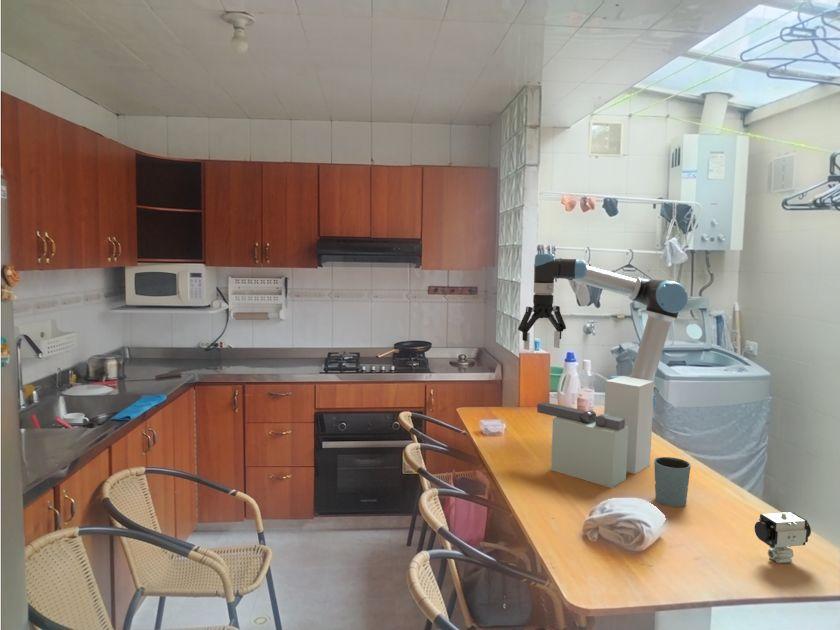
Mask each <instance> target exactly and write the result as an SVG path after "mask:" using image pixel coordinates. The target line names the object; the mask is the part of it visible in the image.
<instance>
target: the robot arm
mask: <svg viewBox="0 0 840 630" xmlns="http://www.w3.org/2000/svg"><path fill="white" fill-rule="evenodd" d="M533 267H534V271H533V273H534V274H533V275H534V276H533V278H534V279H533V293H534V294H533V299H532V301H533V306H526V307H525V312H524V314H523V317H522V320H521V321H520V322H519V325H518V327H517V331H519V332H522V336H521V337H522V339H521V340H522V341H523V350H527V351H529V350H530V337H531V336H530V332H529V331H530V329H531V328H533V326H534V325H535V323H536V322H537V321H538V320H539V319H548V320H549V321H550V323H551V325H552V327H553V328H554V329H555V330H554V332H553V333H554V334H553V348H556V349H560V341H561V339H562V332H563V331H564V330H567V325H566V323H565V321H564V319H563V318H564V317H563V316H562V313H561V307H560V306H558V305H554V295H553V294H554V290H555V289H554V283H555V279H556V280H557V279H562V280H563V279H565V280H568V281H573V282H576V283H580V284H582V285H587V286H591V287H593V288H597V289H601V290H605V291H607V292H611V293H614V294H619V295H622V296H626V297H628V298H629V300H631V301H635V302H638V303H640V304H642V305H645V306H646V308H645V313H646V314H647V316H648V317H647V320H646V323H645V327H644V330H643V334H642V336H641V338H640V339H641V340H640V343H639V347H638V350H637V354H636V357H635V359H634V360H635V361H634V364H633V366H632V369H631V373H630V374H629V375H624V376H625V377H631V378H637V379H644V380H650V381H654V393H655V391H656V388H657V385H656V384H655V377H656V375H657V371H658V367H659V363H660V362H661V361H660V360H661V357H662V353H663V350H664V347H665V344H666V341H667V338H668V334H669V330H670V327H671V323H672V322H673V321H677V319H678V316H679V313H680V312H681V311H682V310H683V309H685V307H686V305H687V304H688V299H689V296H688V292H687V290H686V287H684V286H683V285H682V284H681V283H678V282H676V281H674V280H666V279H665V280H664V279H653V278H652V279H649V278H643V277H639V276H636V277H630V276H626V275H622V274H620V273H619V274H618V273H616V272H612V271H608V270H604V269H600V268H596V267H595V266H589V265H587V262H586V261H585V260H584V259H582V258H580V259H579V258H561V257H560V258H556V256H555V254H553V253H537V254H536V255H535V257H534V264H533ZM619 376H620V375H612V376H609V378H608V380H610V379H613V378H616V377H619ZM656 406H657V398H656V396H655V395H654V397H653V411H654V410H655V409H656Z"/></svg>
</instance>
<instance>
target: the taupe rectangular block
mask: <svg viewBox="0 0 840 630" xmlns="http://www.w3.org/2000/svg"><path fill="white" fill-rule="evenodd" d="M618 376H619V377H616V378H613V379H610V380H609V379H607V380H605V382H604V383H605V386H604V387H605V388H604V408H603V409H604V410H603V414H609V415H611V416H613V417H618V418H623V419H625V426H629V427H628V447H627V468H626V473H629V474H634V475H636V474H637V473H639V472H642V470H644V469H646V468H647V467H649V466H651V450H652V449H651V448H652V430H653V413H654V410H653V397H654V396H655V392H654V383H655V380H654V381H650V380H644V379H637V378H631V377H625V376H626V375H618Z"/></svg>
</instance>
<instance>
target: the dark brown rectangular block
mask: <svg viewBox="0 0 840 630" xmlns="http://www.w3.org/2000/svg"><path fill="white" fill-rule="evenodd" d="M536 407H537V408H536V409H537V411H536V412H537V413H538V414H544V415H548V416H552V417H555V418H556V417H560V418H565V419H569V420H573V421H578V422H582V423H586V424H591V423H593V422H595V419H596V416H597V414H596V412H595V411H594V410H584V409H579V408H574V407H570V406H565V405H559V404H555V403H550V402H547V401H546V402H545V401H541V402H540V403H537V406H536Z"/></svg>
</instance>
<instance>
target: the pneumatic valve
mask: <svg viewBox="0 0 840 630" xmlns="http://www.w3.org/2000/svg"><path fill="white" fill-rule="evenodd" d="M754 533H755V535H756V537H757V538H758V540H760V541H761V542H763V543H764V544H766V545H767V546H769V549H768V550H767V556H768V557H769V558H770V560H773V561H775V562H776V563H777V564H790V563H792V562H793V559H792V558H793V557H794V550H793V549H792V547H800V546H806V543H808V541H809V537H810V536H811V534H812V528H811V526H810V524H809V522H808V520H807V519H805V518H803V517H801V516H800V515H799V514H797V513H795V512H777V513H762V514H760V515H759V519H758V521H757V522H756V523H755V524H754Z"/></svg>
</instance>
